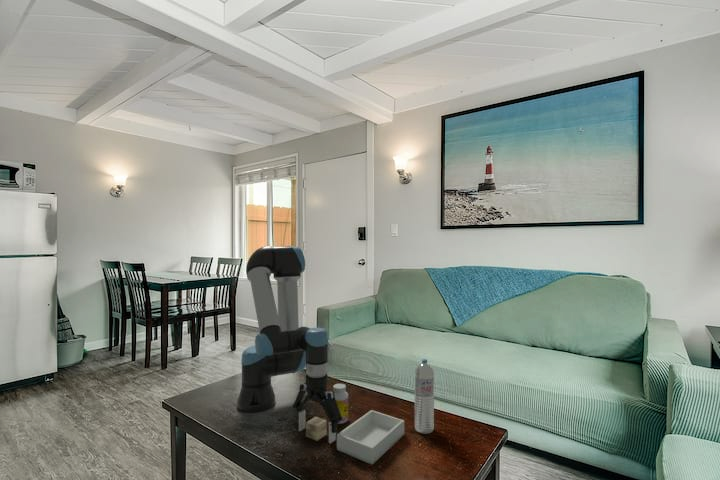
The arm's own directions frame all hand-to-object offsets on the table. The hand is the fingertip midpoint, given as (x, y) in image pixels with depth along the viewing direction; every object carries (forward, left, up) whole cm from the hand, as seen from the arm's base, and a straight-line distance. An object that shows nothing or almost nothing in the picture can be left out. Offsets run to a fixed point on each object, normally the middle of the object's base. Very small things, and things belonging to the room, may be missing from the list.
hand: (316, 435), depth 128 cm
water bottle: (+29, +25, 0) cm, 38 cm away
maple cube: (0, 0, 0) cm, 0 cm away
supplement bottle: (0, +13, 0) cm, 13 cm away
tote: (+18, +8, 0) cm, 19 cm away
